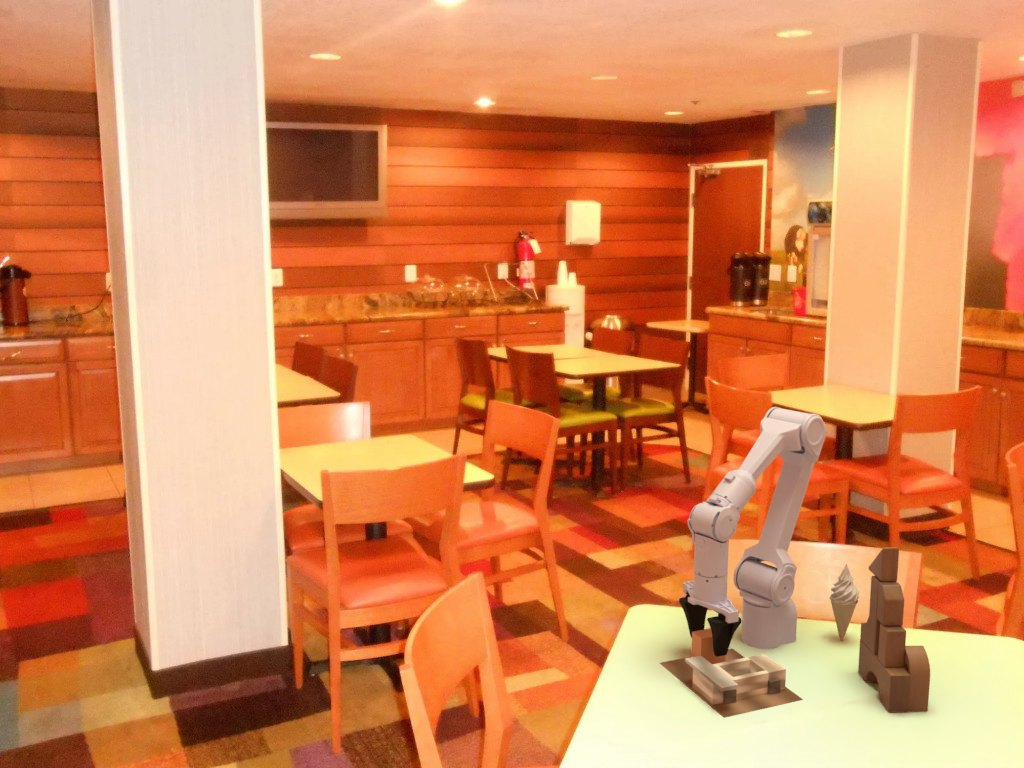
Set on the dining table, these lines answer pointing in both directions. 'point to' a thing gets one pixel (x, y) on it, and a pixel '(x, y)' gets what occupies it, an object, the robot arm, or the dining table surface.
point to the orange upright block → (704, 646)
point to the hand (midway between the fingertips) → (708, 645)
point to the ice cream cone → (844, 601)
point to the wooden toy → (892, 642)
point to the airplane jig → (734, 682)
